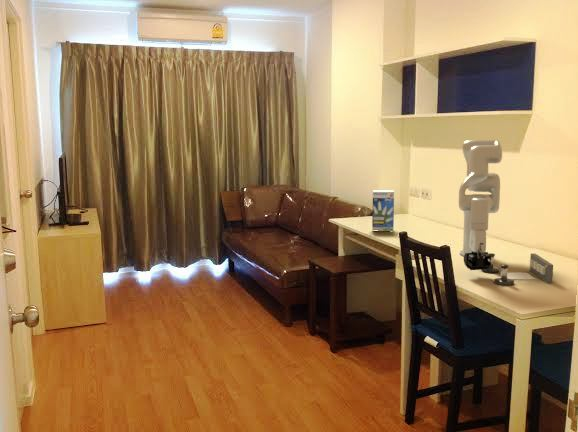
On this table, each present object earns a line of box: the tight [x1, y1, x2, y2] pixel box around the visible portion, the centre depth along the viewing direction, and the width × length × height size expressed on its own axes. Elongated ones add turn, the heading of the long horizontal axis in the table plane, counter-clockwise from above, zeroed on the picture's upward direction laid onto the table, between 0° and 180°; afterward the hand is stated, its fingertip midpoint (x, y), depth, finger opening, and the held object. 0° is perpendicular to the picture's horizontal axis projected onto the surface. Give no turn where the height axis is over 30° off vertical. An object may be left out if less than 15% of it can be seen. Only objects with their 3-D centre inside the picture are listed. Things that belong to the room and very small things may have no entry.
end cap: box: [463, 251, 491, 271], centre depth 244 cm, size 10×7×7 cm
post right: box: [493, 263, 515, 287], centre depth 235 cm, size 8×8×8 cm
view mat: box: [499, 272, 537, 281], centre depth 244 cm, size 10×12×1 cm
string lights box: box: [371, 189, 395, 232], centre depth 346 cm, size 13×8×26 cm, turn 76°
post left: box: [480, 252, 501, 274], centre depth 253 cm, size 8×8×8 cm
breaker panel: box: [529, 253, 554, 284], centre depth 243 cm, size 20×3×8 cm, turn 177°
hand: (477, 264), depth 244 cm, fingers closed on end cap, 7 cm apart
